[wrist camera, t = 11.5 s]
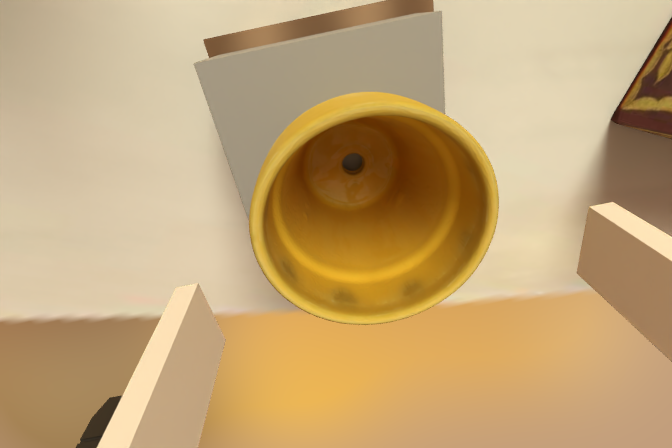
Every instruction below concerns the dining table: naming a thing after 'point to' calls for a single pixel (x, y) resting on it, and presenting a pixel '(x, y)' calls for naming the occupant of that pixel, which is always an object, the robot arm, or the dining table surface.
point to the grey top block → (316, 83)
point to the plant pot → (372, 209)
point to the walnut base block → (315, 25)
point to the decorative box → (651, 92)
